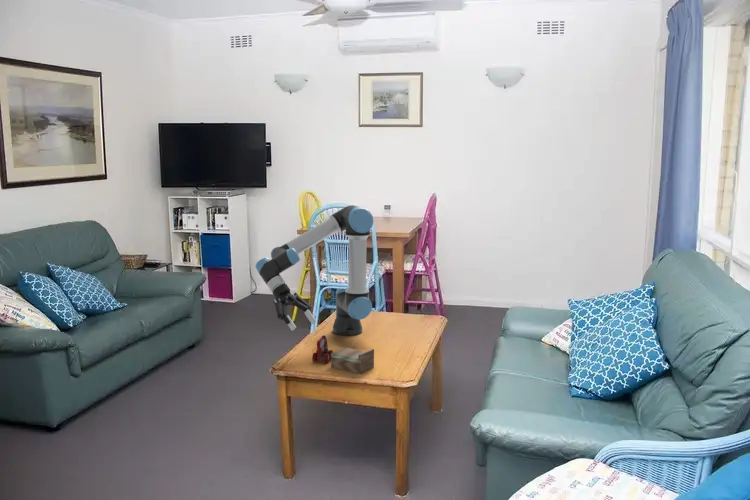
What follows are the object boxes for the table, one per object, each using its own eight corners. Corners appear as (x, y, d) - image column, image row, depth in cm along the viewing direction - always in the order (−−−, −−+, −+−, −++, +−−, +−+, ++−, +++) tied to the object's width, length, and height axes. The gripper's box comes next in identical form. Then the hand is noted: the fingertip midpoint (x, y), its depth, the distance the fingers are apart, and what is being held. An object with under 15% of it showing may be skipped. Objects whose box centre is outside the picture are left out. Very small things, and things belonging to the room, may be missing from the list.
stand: (330, 367, 263) (330, 348, 261) (345, 360, 271) (345, 343, 270) (359, 374, 254) (360, 355, 253) (374, 367, 263) (374, 349, 262)
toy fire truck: (334, 356, 277) (334, 334, 275) (326, 365, 265) (326, 341, 263) (319, 355, 278) (319, 332, 277) (310, 364, 266) (310, 340, 265)
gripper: (292, 288, 293) (317, 324, 287) (254, 297, 272) (280, 336, 266) (301, 278, 289) (326, 315, 283) (263, 287, 269) (289, 326, 262)
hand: (304, 325), depth 275 cm, fingers open, 13 cm apart
